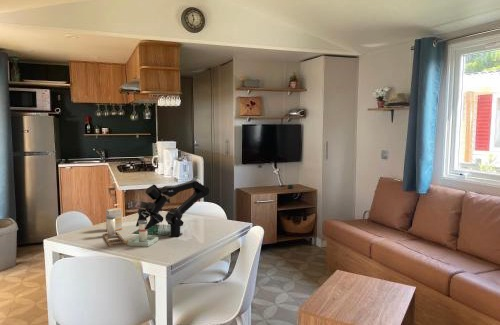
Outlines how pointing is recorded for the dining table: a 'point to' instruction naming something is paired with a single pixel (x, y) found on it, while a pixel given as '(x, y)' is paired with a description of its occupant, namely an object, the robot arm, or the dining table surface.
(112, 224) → the cylinder
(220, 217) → the dining table surface
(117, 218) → the supplement box
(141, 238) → the ball
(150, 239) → the tray
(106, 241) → the wooden fuse rack
